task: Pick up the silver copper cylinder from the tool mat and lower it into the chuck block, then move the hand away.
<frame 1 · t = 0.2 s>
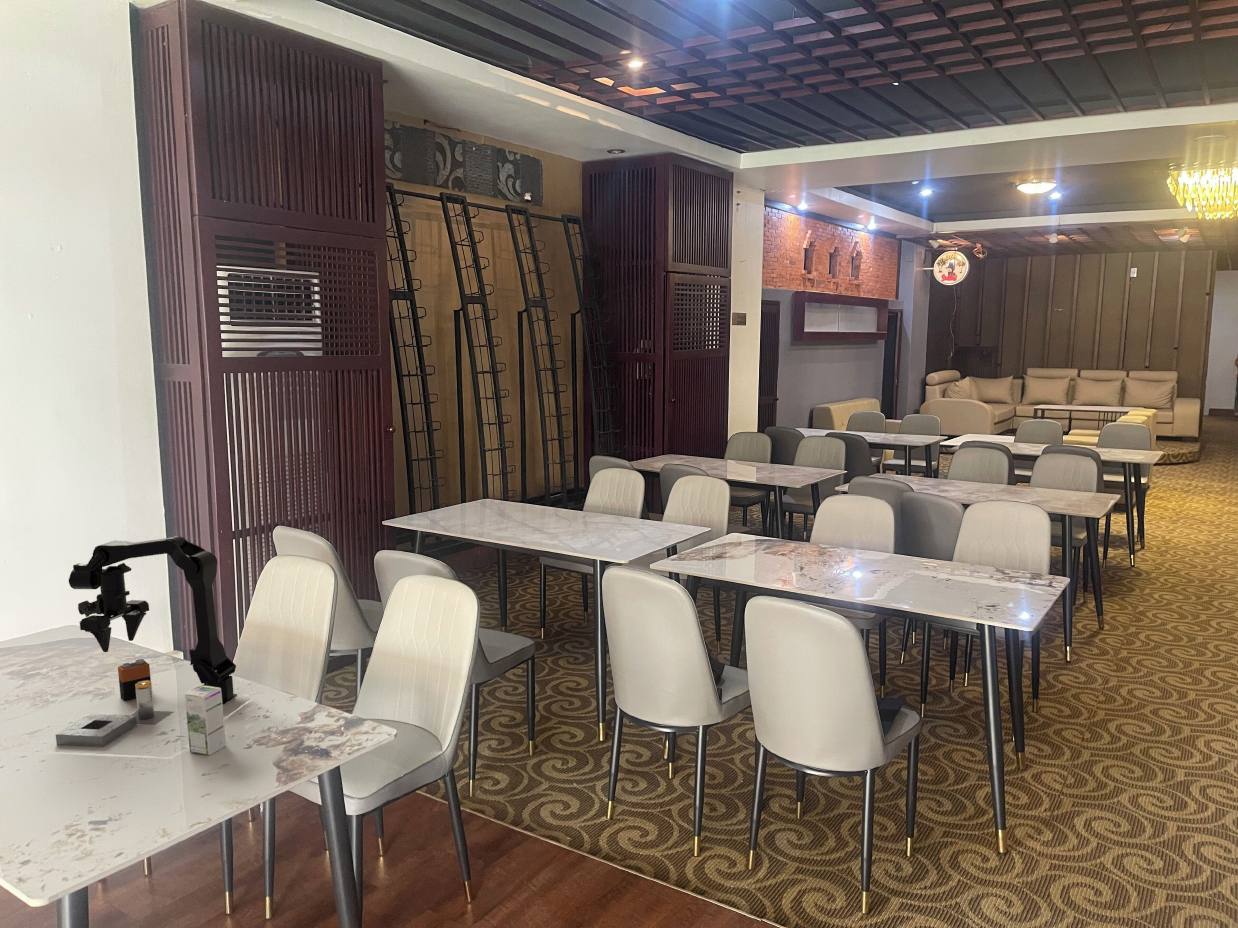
hand: (118, 646, 240), 14 cm above the table, fingers open, 9 cm apart
battery: (136, 697, 242), on the table
silver copper cylinder: (146, 717, 227), resting on tool mat
syrup box: (207, 750, 209), on the table
tool mat: (146, 718, 227), on the table
chuck block: (97, 736, 217), on the table
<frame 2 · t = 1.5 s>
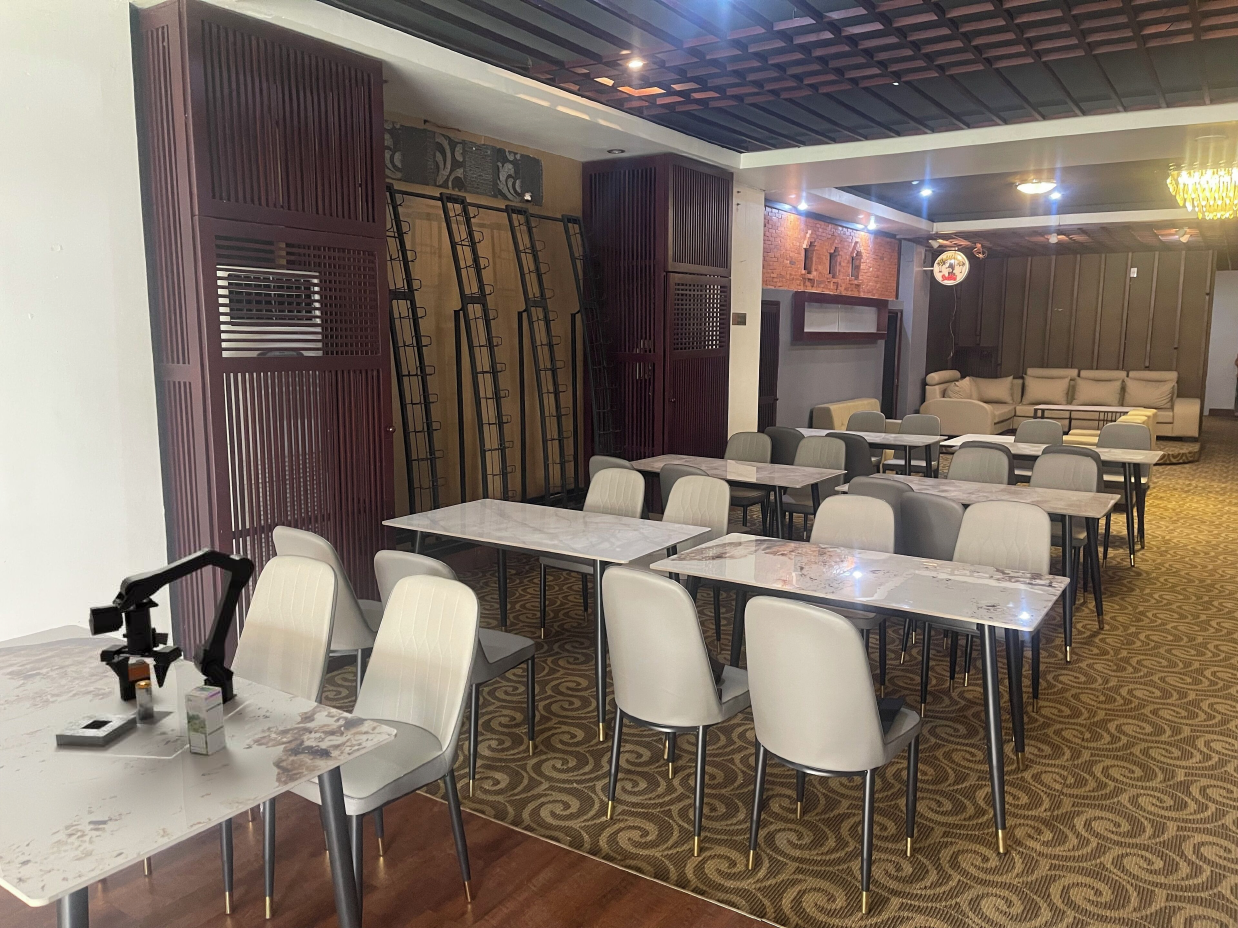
hand: (144, 686, 226), 8 cm above the table, fingers open, 9 cm apart
nothing on the table moved.
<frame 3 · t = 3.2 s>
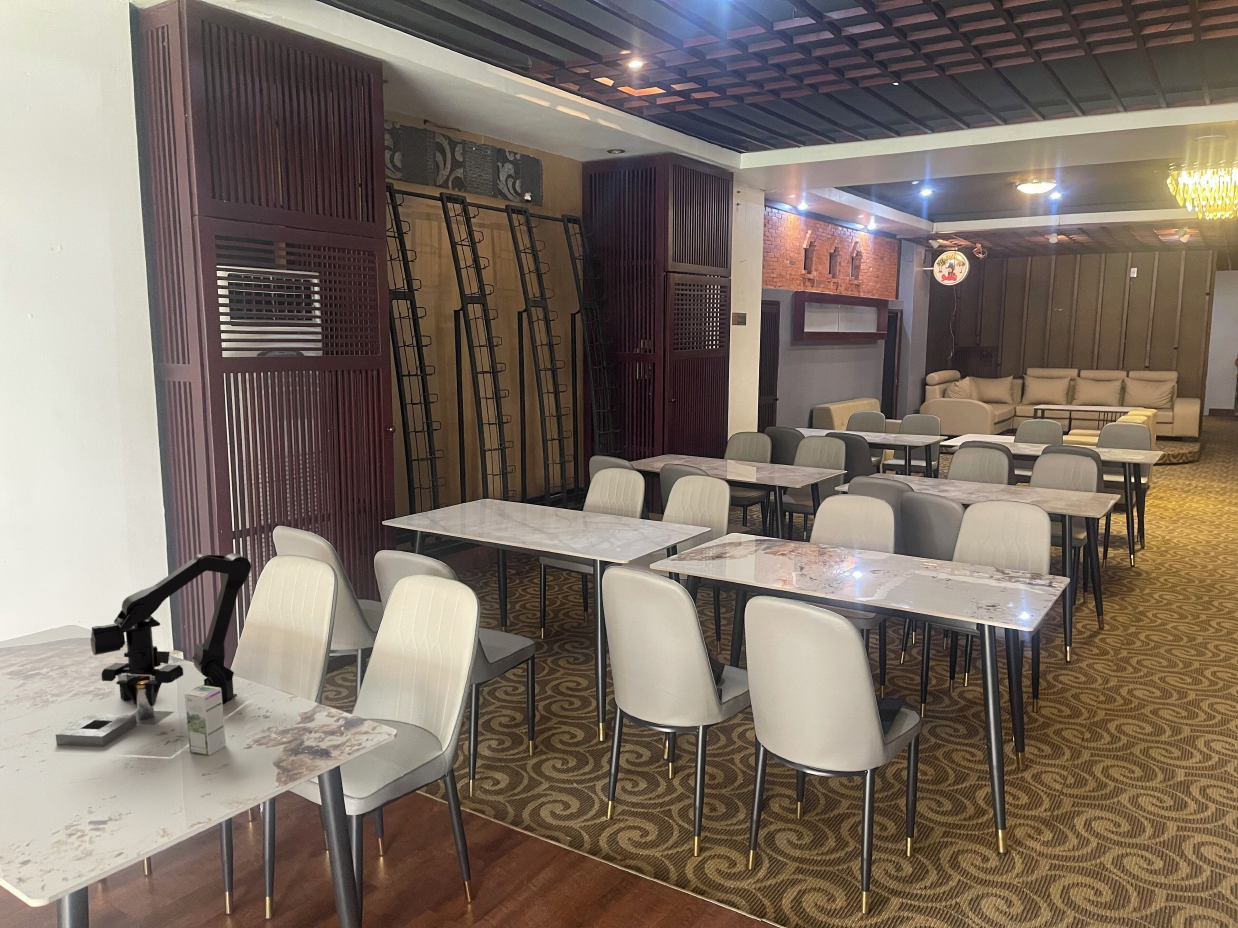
hand: (145, 705, 227), 4 cm above the table, fingers closed on silver copper cylinder, 4 cm apart
silver copper cylinder: (146, 717, 227), resting on tool mat, touching gripper
everything else where it was.
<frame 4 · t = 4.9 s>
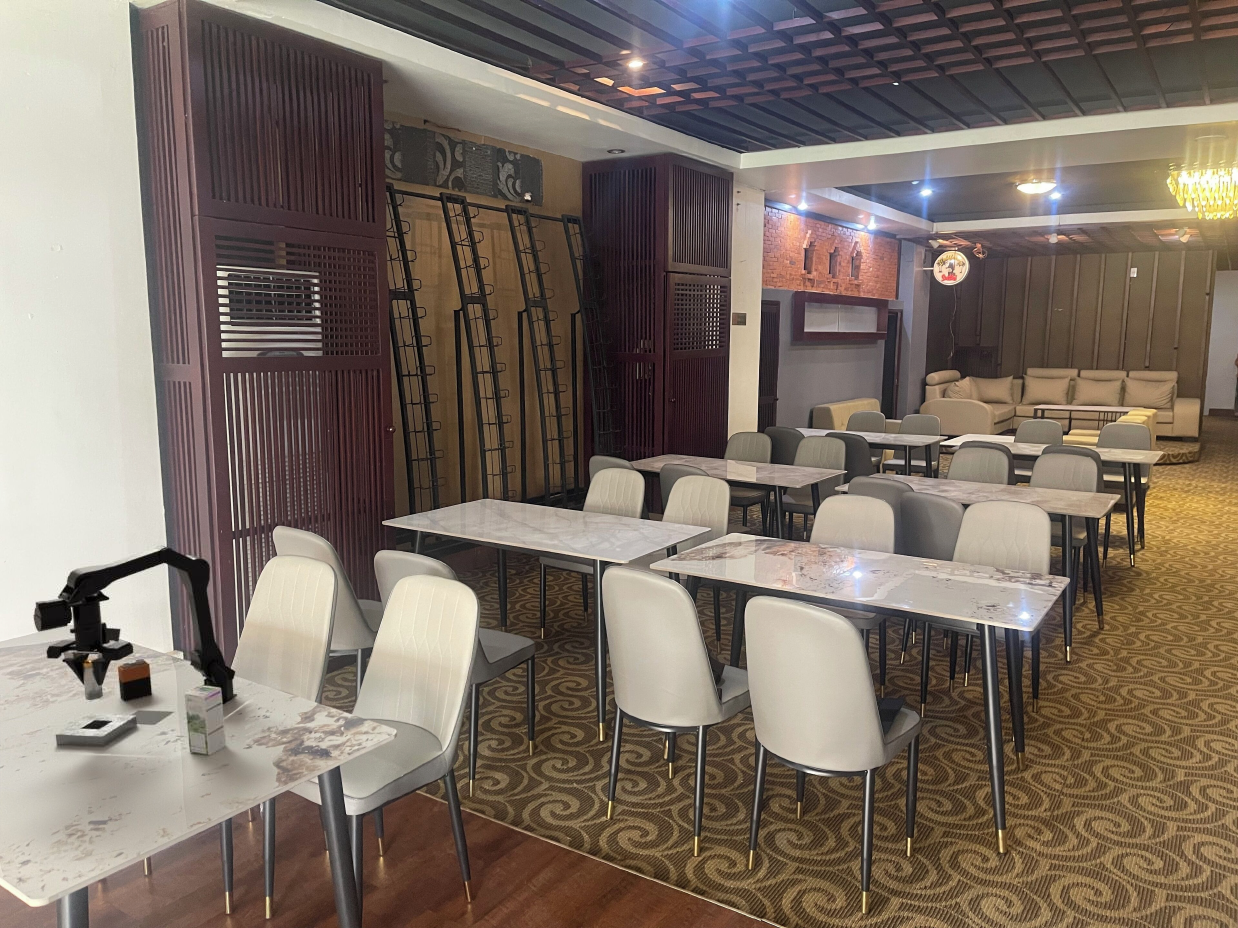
hand: (93, 684, 215), 13 cm above the table, fingers closed on silver copper cylinder, 4 cm apart
silver copper cylinder: (94, 696, 216), point 10 cm above the table, touching gripper
everything else where it was.
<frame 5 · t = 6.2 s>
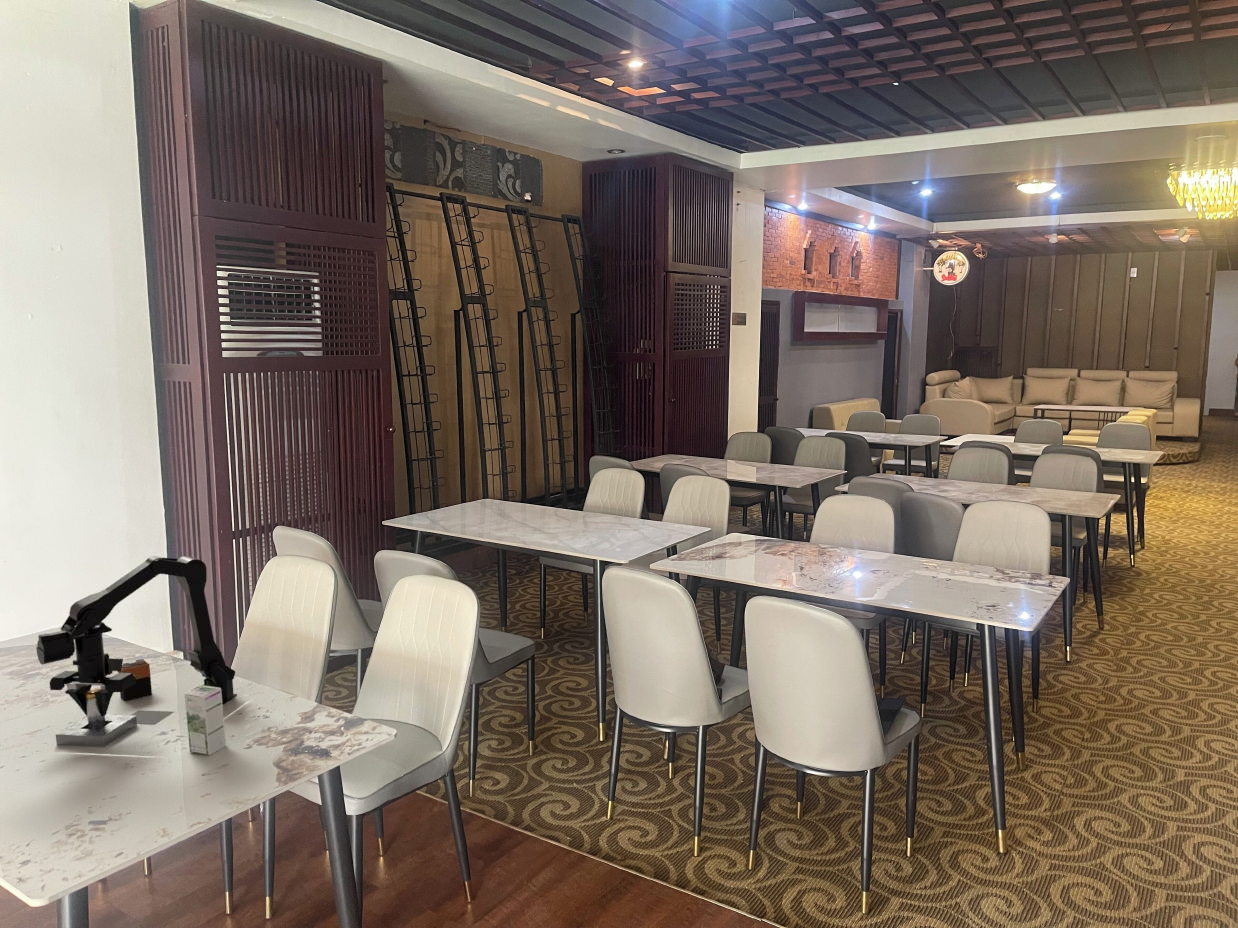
hand: (96, 715, 216), 5 cm above the table, fingers closed on silver copper cylinder, 4 cm apart
silver copper cylinder: (97, 727, 217), point 2 cm above the table, touching gripper
everything else where it was.
when the fingers open (4 cm above the table, at t = 7.1 s): silver copper cylinder drops 1 cm, resting in chuck block.
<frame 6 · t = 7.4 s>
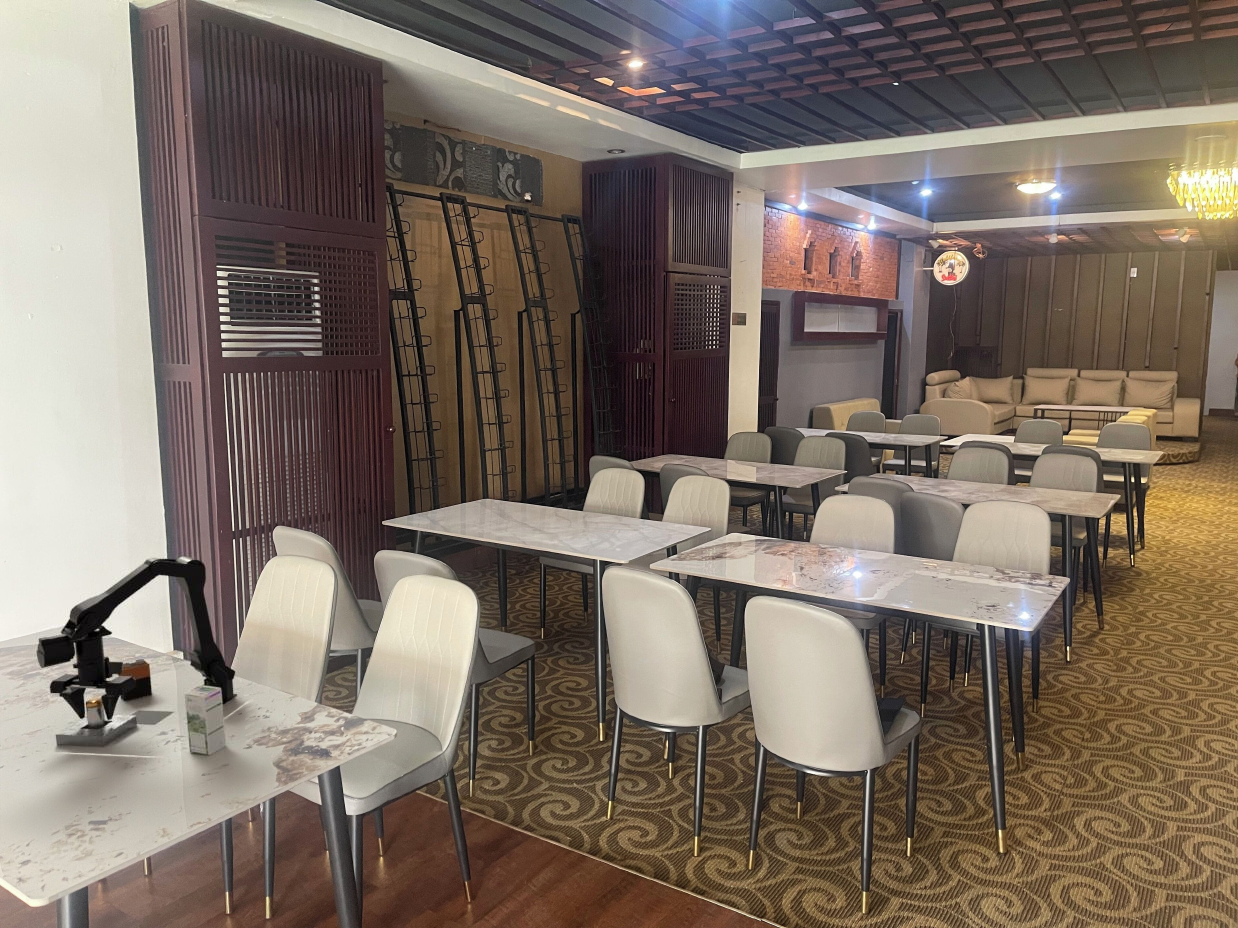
hand: (96, 718, 216), 4 cm above the table, fingers open, 7 cm apart
silver copper cylinder: (97, 736, 217), resting in chuck block
everything else where it was.
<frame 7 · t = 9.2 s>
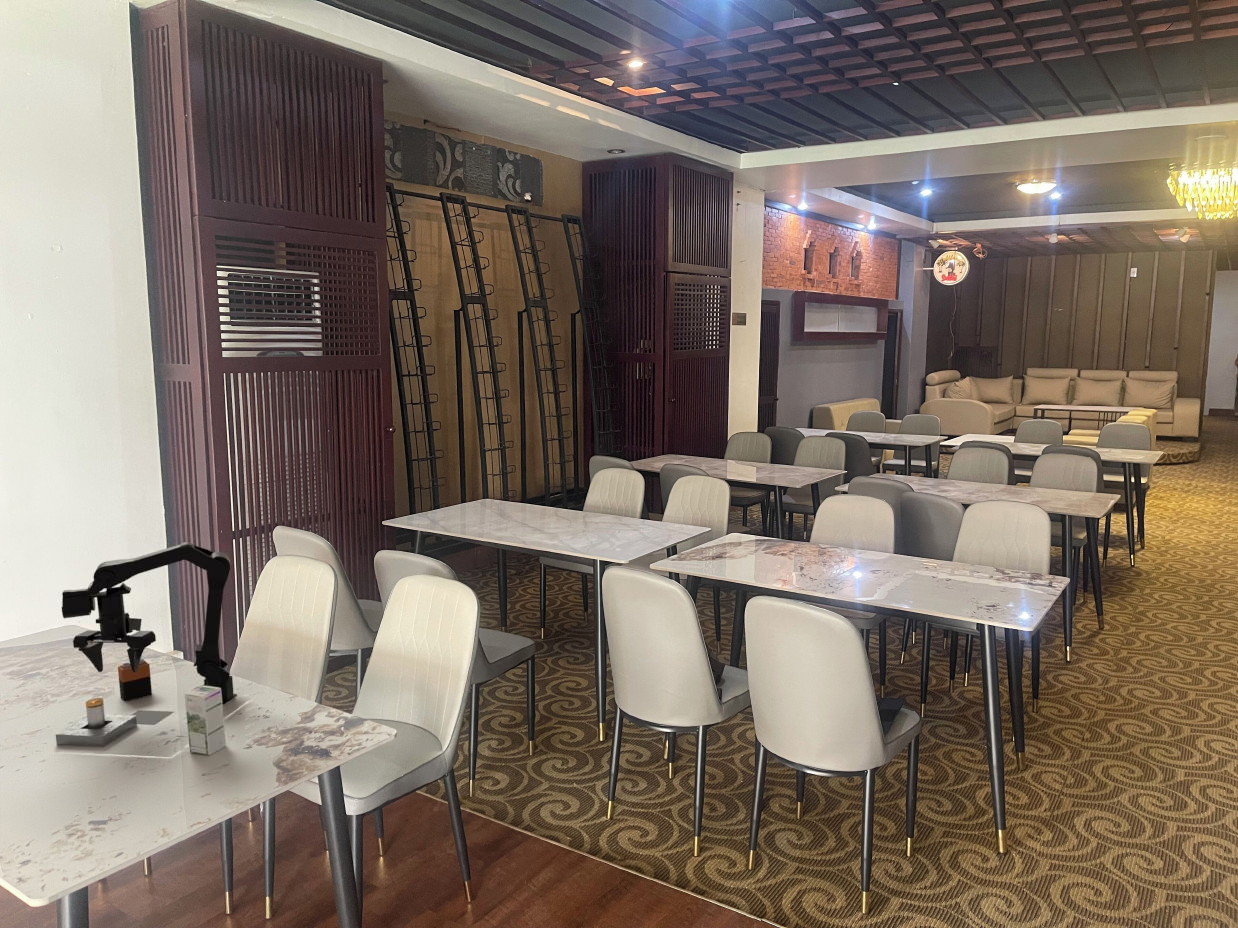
hand: (117, 671, 228), 12 cm above the table, fingers open, 9 cm apart
nothing on the table moved.
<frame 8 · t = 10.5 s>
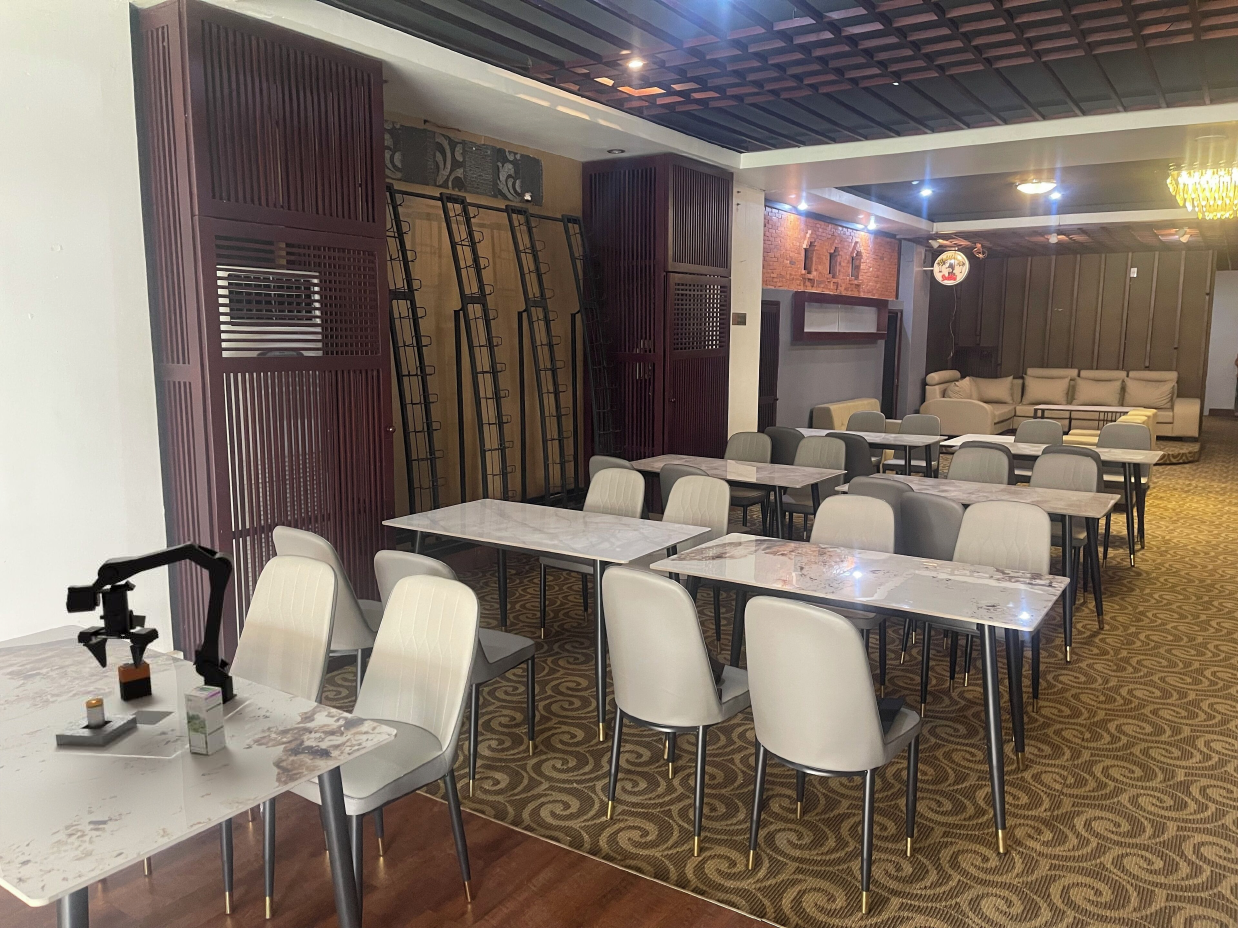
hand: (121, 667, 230), 12 cm above the table, fingers open, 9 cm apart
nothing on the table moved.
at the end: silver copper cylinder 0.0 cm off-centre on the chuck block, point 0.0 cm above the chuck block's base; silver copper cylinder tilted 0°; the gripper is holding nothing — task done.
